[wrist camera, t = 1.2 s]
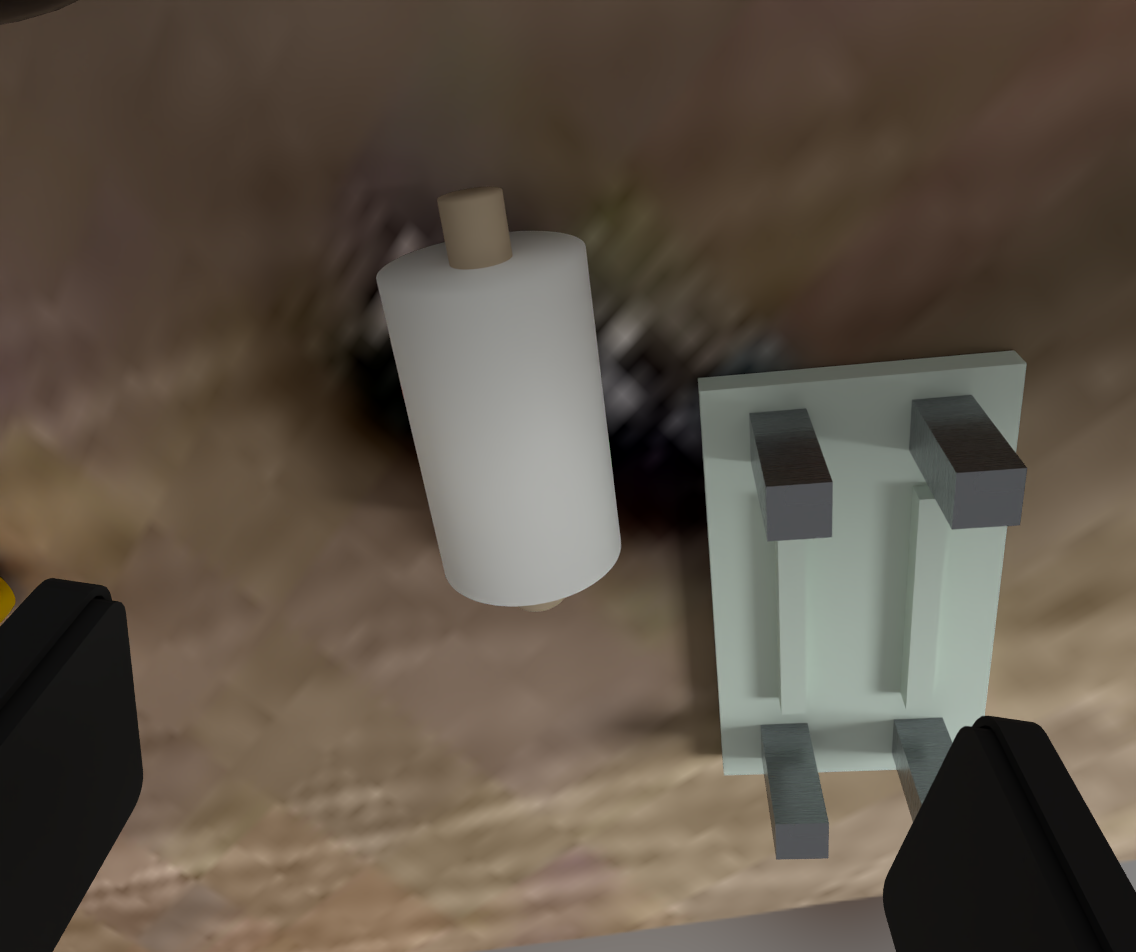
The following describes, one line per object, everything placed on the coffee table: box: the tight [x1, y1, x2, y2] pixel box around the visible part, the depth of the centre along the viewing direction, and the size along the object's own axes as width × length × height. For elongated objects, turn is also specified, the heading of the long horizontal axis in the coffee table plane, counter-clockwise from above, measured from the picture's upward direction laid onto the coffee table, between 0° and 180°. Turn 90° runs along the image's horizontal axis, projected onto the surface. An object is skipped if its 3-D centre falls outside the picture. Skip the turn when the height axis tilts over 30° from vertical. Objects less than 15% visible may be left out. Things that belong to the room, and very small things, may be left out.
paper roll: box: [376, 187, 621, 612], centre depth 31 cm, size 7×15×7 cm, turn 7°
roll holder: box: [698, 350, 1027, 859], centre depth 34 cm, size 11×19×6 cm, turn 7°
